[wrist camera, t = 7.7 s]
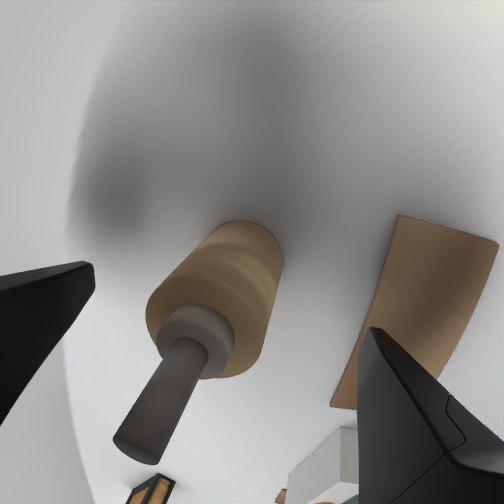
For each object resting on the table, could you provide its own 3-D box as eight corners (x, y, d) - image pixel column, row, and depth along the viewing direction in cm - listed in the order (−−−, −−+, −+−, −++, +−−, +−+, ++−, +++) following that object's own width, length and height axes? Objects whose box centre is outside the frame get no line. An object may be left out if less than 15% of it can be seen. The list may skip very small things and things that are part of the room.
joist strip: (496, 242, 10) (499, 244, 10) (329, 506, 19) (329, 508, 19) (397, 214, 10) (400, 216, 10) (275, 500, 20) (274, 503, 20)
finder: (405, 437, 15) (413, 494, 11) (347, 483, 18) (346, 529, 14) (340, 424, 15) (339, 487, 11) (289, 471, 18) (281, 521, 14)
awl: (289, 229, 11) (232, 433, 3) (275, 302, 13) (219, 506, 5) (207, 213, 12) (38, 356, 4) (201, 286, 13) (84, 454, 5)
